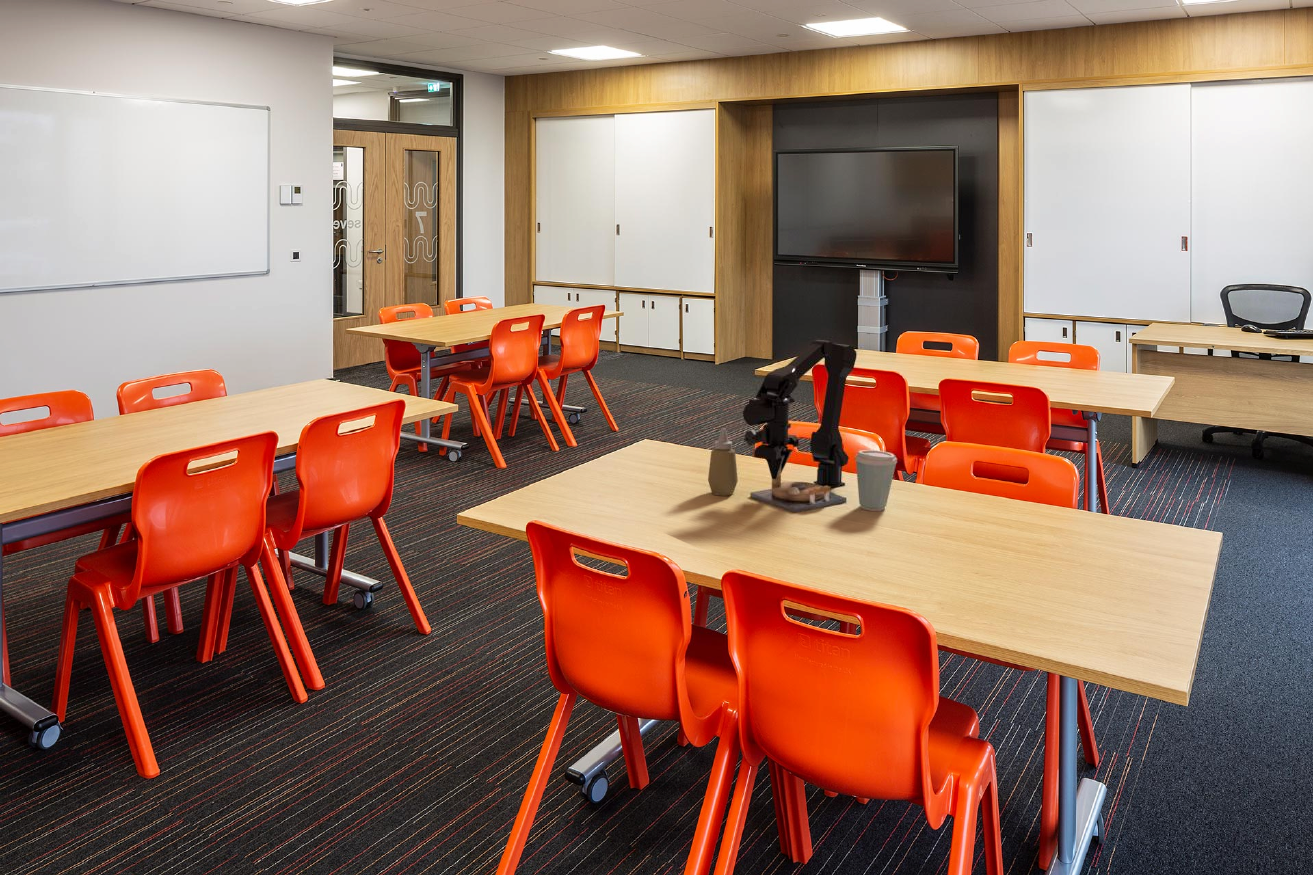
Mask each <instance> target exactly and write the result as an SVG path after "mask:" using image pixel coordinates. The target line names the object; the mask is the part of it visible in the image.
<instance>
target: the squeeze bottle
mask: <svg viewBox="0 0 1313 875" xmlns="http://www.w3.org/2000/svg"><path fill="white" fill-rule="evenodd" d="M719 434H720V435H719V438H718V440H716V441H714V449H712V450H711V452H710V459H709V467H708V468H709V469H708V476H707V477H708V478H707V481H708V484H709V488H710V492H711V493H712V495H716V496H726V497H727V496H731V495H733V494H734V493H735V490H736V487H737V484H738V482H739V479H738V468H737V457H736V451H735V450H734V449H733V442H732V441H730V440H729V438H728V432H727V428H721V429H720V433H719Z"/></svg>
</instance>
